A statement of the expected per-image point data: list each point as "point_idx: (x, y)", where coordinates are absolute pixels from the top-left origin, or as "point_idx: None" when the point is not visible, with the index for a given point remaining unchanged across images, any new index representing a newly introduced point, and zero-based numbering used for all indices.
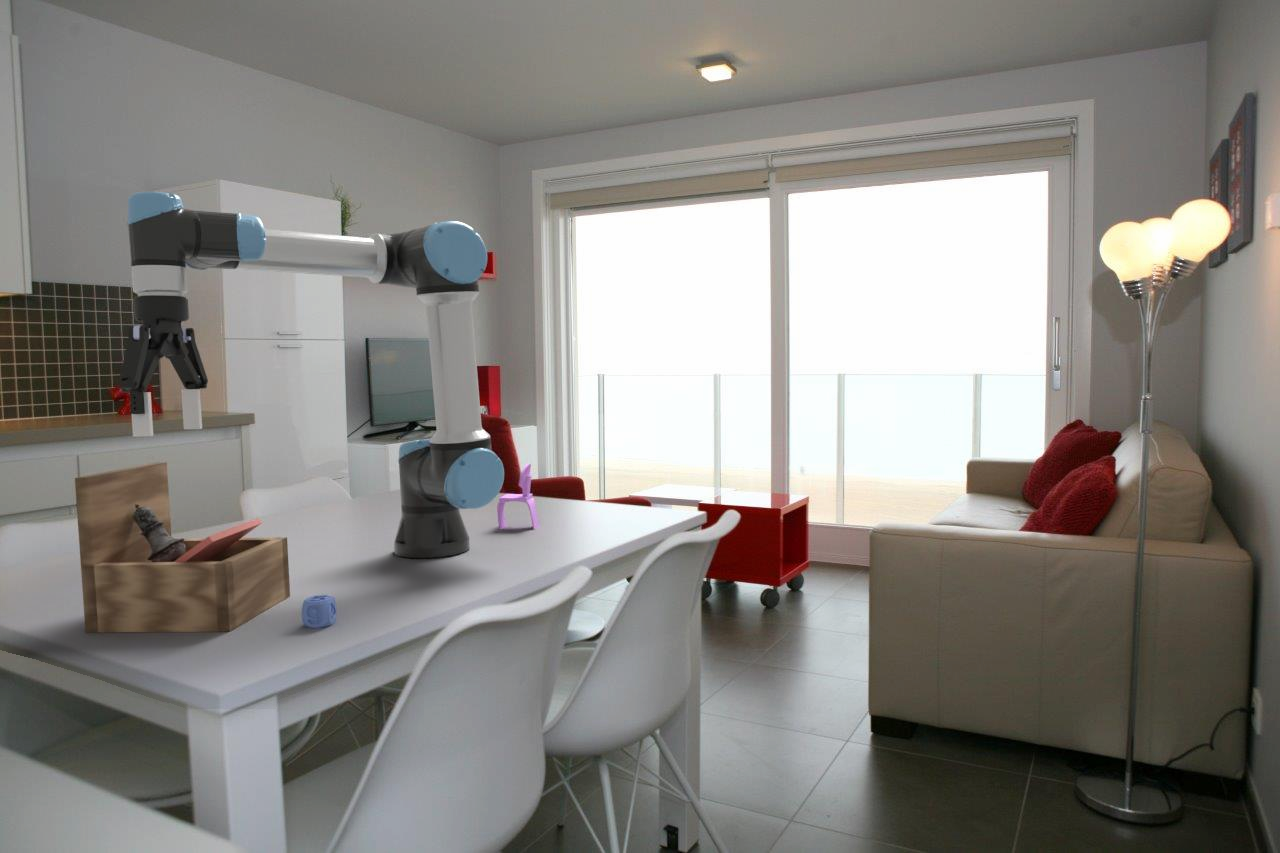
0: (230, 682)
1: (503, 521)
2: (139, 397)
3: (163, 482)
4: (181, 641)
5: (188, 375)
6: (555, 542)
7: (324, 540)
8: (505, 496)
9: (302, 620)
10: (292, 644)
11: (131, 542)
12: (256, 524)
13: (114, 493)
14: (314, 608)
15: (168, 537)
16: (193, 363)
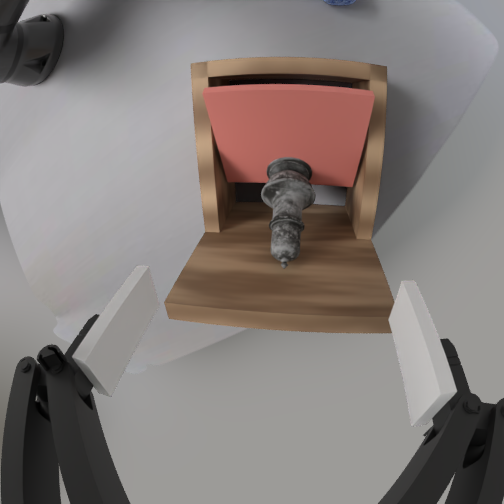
0: (485, 40)
1: None
2: (465, 382)
3: (189, 281)
4: (395, 109)
5: (86, 425)
6: None
7: (22, 185)
8: None
9: (352, 3)
10: (403, 5)
11: None
12: (222, 86)
13: (330, 290)
14: None
15: (290, 196)
16: (35, 446)
